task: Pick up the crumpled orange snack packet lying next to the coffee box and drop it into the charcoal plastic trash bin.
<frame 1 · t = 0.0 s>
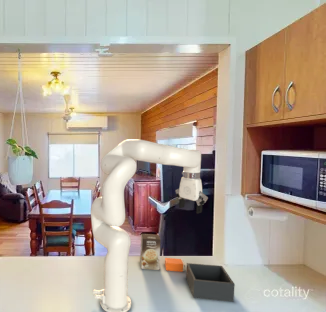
hand: (190, 210, 119), 31 cm above the counter, tool pointing down, fingers open, 9 cm apart
trash bin: (208, 289, 108), on the counter
coffee box: (149, 266, 126), on the counter
packet: (173, 268, 124), on the counter
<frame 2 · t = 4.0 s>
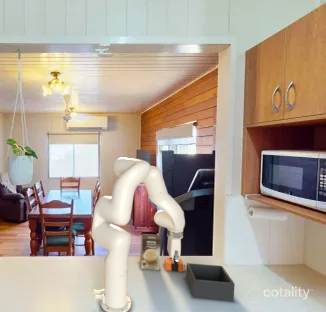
hand: (173, 267, 124), 1 cm above the counter, tool pointing down, fingers closed on packet, 5 cm apart
packet: (173, 268, 124), on the counter, touching gripper
everything else where it was.
when the fingers open (2 cm above the counter, at t = 13.1 s): packet stays where it is, resting on trash bin.
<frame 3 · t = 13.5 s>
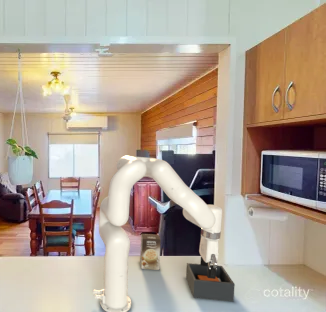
hand: (207, 271, 107), 8 cm above the counter, tool pointing down, fingers open, 9 cm apart
packet: (208, 287, 108), point 1 cm above the counter, touching trash bin
everything else where it was.
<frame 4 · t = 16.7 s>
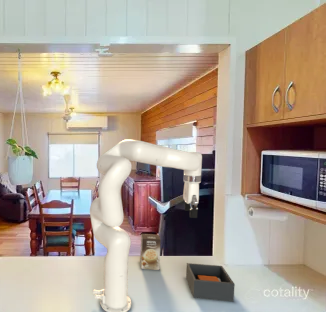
hand: (190, 213, 116), 30 cm above the counter, tool pointing down, fingers open, 9 cm apart
nothing on the counter moved.
at the end: packet inside the target area in the trash bin (0.1 cm from its centre), point 0.8 cm above the trash bin's base; the gripper is holding nothing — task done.
